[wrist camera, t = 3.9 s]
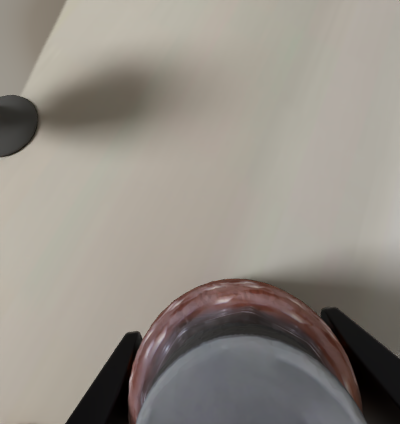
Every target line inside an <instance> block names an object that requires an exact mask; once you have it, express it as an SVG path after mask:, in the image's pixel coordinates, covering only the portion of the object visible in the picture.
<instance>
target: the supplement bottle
mask: <svg viewBox="0 0 400 424" xmlns="http://www.w3.org/2000/svg"><path fill="white" fill-rule="evenodd" d="M128 420H129V424H367V422H366V420H365V418H364V415H363V410H362V400H361V395H360V391H359V387H358V383H357V380H356V377H355V374H354V371H353V369H352V366H351V364H350V361H349V359H348V356H347V354H346V353H345V351H344V349H343V347H342V346H341V344H340V342H339V341H338V339H337V338H336V336H335V335H334V334H333V332H332V331H331V329H330V328H329V326H328V325H327V324H326V323H325V322H324V321H323V320H322V319H321V318H320V317H319V316H318V315H317V313H316V312H314V311H313V310H312V309H311V308H310V307H309V306H307V305H306V304H305V303H303V302H302V301H301V300H299V299H298V298H296V297H294V296H293V295H291V294H289V293H287V292H285V291H283V290H281V289H279V288H277V287H274V286H272V285H269V284H266V283H262V282H258V281H254V280H248V279H223V280H218V281H213V282H210V283H207V284H204V285H201V286H198V287H196V288H194V289H192V290H190V291H189V292H187V293H185V294H183V295H182V296H180V297H179V298H177V299H176V300H174V301H173V302H172V303H171V304H170V305H169V306H168V307H167V308H166V309H165V310H164V311H162V312H161V314H160V315H159V316H158V317H157V319H156V320H155V321H154V322H153V324H152V325H151V327H150V329H149V330H148V332H147V333H146V335H145V336H144V338H143V340H142V342H141V345H140V347H139V349H138V351H137V354H136V357H135V360H134V362H133V365H132V371H131V376H130V380H129V395H128Z"/></svg>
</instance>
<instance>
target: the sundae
mask: <svg viewBox="0 0 400 424" xmlns="http://www.w3.org/2000/svg"><path fill="white" fill-rule="evenodd" d="M36 126H37V113H36V110H35V107H34V106H33V105H32V103H31V102H30V101H28V100H27V99H25V98H23V97H20V96H16V95H7V96H2V97H0V157H1V156H7V155H9V154H12V153H14V152H16V151H18V150H20V149H21V148H22V147H23V146H25V145H26V144H27V143H28V142H29V141H30V139H31V138H32V136H33V134H34V132H35V130H36Z"/></svg>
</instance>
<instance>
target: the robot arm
mask: <svg viewBox="0 0 400 424" xmlns="http://www.w3.org/2000/svg"><path fill="white" fill-rule="evenodd" d="M321 319H322V320H323V321H324V322H325V323H326V324H327V325H328V326H329V328H330V329H331V331H332V332H333V334H334V335H335V336H336V338H337V339H338V341H339V342H340V344H341V346H342V347H343V349H344V351H345V353H346V354H347V356H348V359H349V361H350V364H351V366H352V369H353V371H354V374H355V377H356V380H357V383H358V387H359V391H360V395H361V400H362V410H363V415H364V418H365V420H366V422H367V424H400V359H399V358H398V357H397V356H396V355H394V354H393V353H392V352H391V351H390V350H388V349H387V348H386V347H385V346H383V345H382V344H381V343H380V342H378V341H377V340H376V339H375V338H373V337H372V336H371V335H370V334H369V333H367V332H366V331H365V330H364V329H362V328H361V327H360V326H359V325H357V324H356V323H355V322H354V321H352V320H351V319H350V318H349V317H348V316H346V315H345V314H344V313H343V312H341V311H340V310H339V309H338V308H336V307H327V308H323V309H322V311H321ZM142 340H143V339H142V336H141V334H140V332H139V331H134V332H128V333H126V334H125V336H124V337H123V339H122V340H121V342H120V343H119V345H118V346H117V348H116V349H115V350H114V352H113V353H112V355H111V356H110V358H109V359H108V361H107V362H106V364H105V365H104V367H103V368H102V370H101V371H100V373H99V374H98V376H97V377H96V379H95V380H94V382H93V383H92V385H91V386H90V388H89V389H88V391H87V392H86V394H85V395H84V397H83V398H82V400H81V401H80V402H79V404H78V405H77V407H76V408H75V410H74V411H73V413H72V414H71V416H70V417H69V419H68V420H67V422H66V423H65V424H129V420H128V395H129V380H130V376H131V371H132V365H133V362H134V360H135V357H136V354H137V351H138V349H139V347H140V345H141V342H142Z"/></svg>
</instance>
